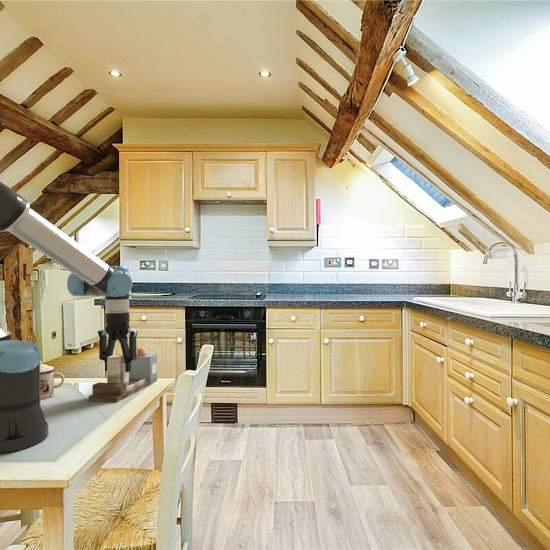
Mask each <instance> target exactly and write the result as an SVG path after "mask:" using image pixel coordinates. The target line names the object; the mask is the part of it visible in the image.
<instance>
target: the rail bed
mask: <svg viewBox="0 0 550 550" xmlns="http://www.w3.org/2000/svg"><path fill="white" fill-rule="evenodd" d="M154 380H155V379H154ZM154 380H153V381H154ZM156 380H157V381H158V378H157V379H156ZM151 385H152V384H151V380H148V378H144V379H142V380H132V379H130V377H129V386H128V387H126V384H120V383H107V382H96V383H94V384H92V394H90V395H89V396H88V401H89V402H101V401H103V402H102V403H106V402H107V403H119V402H121V401H122V400H124V399H126V398H128V397H130V396H132V395H134V394H135V393H137V392H140V391H141V390H143V389H144V388H147V387H148V386H151Z"/></svg>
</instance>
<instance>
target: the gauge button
mask: <svg viewBox="0 0 550 550" xmlns="http://www.w3.org/2000/svg"><path fill="white" fill-rule="evenodd" d="M136 352H137V356H145V354H146V347H138V348H137V347H136Z"/></svg>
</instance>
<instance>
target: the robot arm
mask: <svg viewBox="0 0 550 550" xmlns="http://www.w3.org/2000/svg"><path fill="white" fill-rule="evenodd" d="M0 232H2V233H3V232H9V233H10V234H12V235H13V236H15V237H17V238H18V239H19V240H21V241H22V242H24V243H26V244H27V245H29V247H32V248H33V249H35V250H36V251H38V252H39V253H41V254H43V255H44V256H46V257H47V258H49V259H50V260H52V261H53V262H55V263H56V264H58V265H59V266H61V267H63V268H64V269H65V270H67V271H69V272H70V274H69V275H68V277H67V280H66V287H67V290H68V293H69V294H70V295H72V296H73V297H84V296H85V297H86V296H88V297H89V296H90V297H105V298H104V299H105V301H104V304H105V307H104V309H105V312H106V313H105V324H106V325H105V328H103V329H100V330H98V331H97V335H98V338H99V341H98V343H99V344H98V347H99V350H98V351H99V352H98V356H99V359H98V360H100V361H104V367H105V368H104V371H105V372H107V357H109V356H112V355H114V351H115V350H114V349H115V347H116V346H115V345H116V342H117V341H118V342H119V344H120V347H121V348H120V349H121V352H122V353H121V354H123V357H124V363H122V383H125V382H127V381H129V372H130V371H131V361H133V360H135V359H136V358H137V336H138V334H139V332H138V331H139V330H134V329H131V327H130V320H131V319H130V312H129V311H130V292H131V290H132V288H133V285H134V283H133V278H132V276H131V274H130V271H129V267H128V266H125V265H109V264H108V263H106V262H104V261H103V260H102V259H101V258H100V257H98V256H96V254H94V253H92V252H91V251H89V249H87V248H86V247H85V246H83V245H82V244H80V243H79V242H77V240H74V239H73V238H72V237H71V236H69V235H68V234H67V233H65V232H64V231H63V230H61V229H60V228H58V227H57V226H56V225H54V224H53V223H52V222H50V221H49V220H47V219H46V218H45V217H43V216H42V215H41V214H39V212H37V211H35V210H34V209H32V208H31V206H30V201H28V200H27V199H25V197H23V196H22V195H21V194H19V193H18V192H16V191H15V190H13V189H12V188H11V187H10V186H8V185H6V184H5V183H3V182H2V181H0ZM107 335H108V336H107ZM41 358H42V357H41V354H40V347H39V346H38V344H37V343H34V342H33V341H29V340H28V341H27V340H19V339H12V334H11V331H9V330H8V329H6V328H4V327H3V320H2V316H1V313H0V454H5V453H11V452H16V451H19V450H23V449H26V448H30V447H33V446H35V445H37V444H39V443H41V442H42V441H45V440H46V438H47V437H49V423H48V421H47V420H46V419H45V414H44V411H43V409H42V406H41V400H40V361H42V359H41Z"/></svg>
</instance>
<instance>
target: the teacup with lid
mask: <svg viewBox="0 0 550 550" xmlns="http://www.w3.org/2000/svg"><path fill="white" fill-rule="evenodd" d="M54 371H55V367H54V366H51V365H47V364H45V363H43V361H42V360H41V361H40V401H41V400H45V399H48V398H52V397H53V396H54V394H55V389H58V388H60V387H61V386H63V384H64V382H65V376H64V374H63V373H61V372H54ZM54 376H60V377H61V381H60V382H59V384H57V385H54V384H55V378H54Z"/></svg>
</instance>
